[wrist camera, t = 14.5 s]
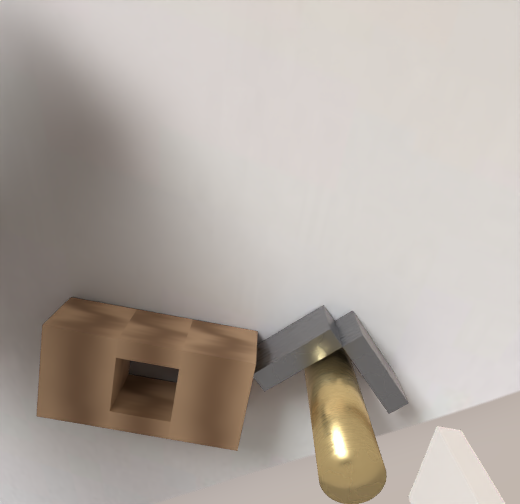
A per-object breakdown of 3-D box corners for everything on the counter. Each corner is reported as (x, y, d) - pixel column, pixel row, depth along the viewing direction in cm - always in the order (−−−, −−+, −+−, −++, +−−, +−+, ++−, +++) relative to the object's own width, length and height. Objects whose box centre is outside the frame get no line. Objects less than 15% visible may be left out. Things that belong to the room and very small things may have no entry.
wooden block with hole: (64, 378, 48) (36, 416, 42) (71, 297, 45) (42, 325, 39) (240, 409, 48) (237, 450, 43) (257, 331, 46) (256, 363, 40)
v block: (250, 359, 47) (248, 388, 42) (264, 294, 45) (264, 317, 40) (390, 384, 47) (404, 416, 42) (410, 321, 45) (427, 347, 40)
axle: (298, 370, 47) (312, 498, 32) (307, 330, 46) (327, 444, 30) (341, 377, 47) (376, 509, 32) (352, 338, 46) (394, 455, 31)
